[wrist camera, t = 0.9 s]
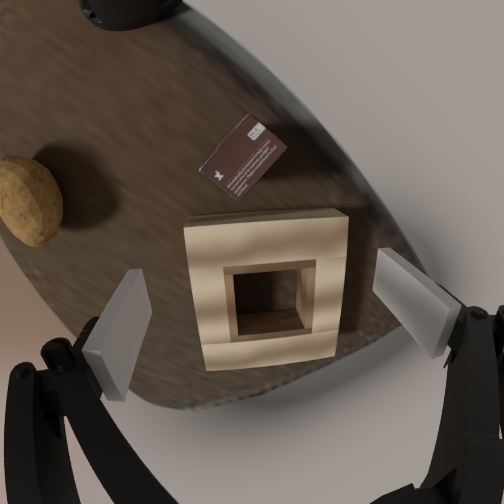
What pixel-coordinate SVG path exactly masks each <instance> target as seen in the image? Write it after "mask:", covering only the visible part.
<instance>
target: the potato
mask: <svg viewBox="0 0 504 504" xmlns="http://www.w3.org/2000/svg"><path fill="white" fill-rule="evenodd" d="M0 216H1V218H2V219H3V221H4V223H5V224H6V226H7V227H8V228H9V229H10V231H11V232H12V233H13V234H14V235H15V236H16V237H17V238H19V239H20V240H21V241H23V242H24V243H25V244H27V245H28V246H31V247H35V246H42V245H44V244H46V243H48V242H49V241H50V240H51V239H52V238H53V237H54V236H55V235H56V234H57V232H58V229H59V226H60V223H61V220H62V216H63V199H62V196H61V192H60V188H59V187H58V185H57V183H56V181H55V179H54V177H53V176H52V174H51V173H50V171H49V170H48V169H47V168H46V167H44V166H43V165H41V164H40V163H38V162H37V161H36V160H32V159H28V158H24V157H20V156H5V157H3V158H1V159H0Z"/></svg>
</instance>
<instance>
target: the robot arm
mask: <svg viewBox="0 0 504 504" xmlns="http://www.w3.org/2000/svg"><path fill="white" fill-rule="evenodd" d="M181 1H182V0H79V3H80V8H81V11H82V13H83V14H84V16H85V17H86V18H87V19H88V20H89V21H90V22H91V23H92V24H94V25H95V26H97V27H98V28H101V29H104V30H109V31H124V30H130V29H134V28H138V27H141V26H144V25H147V24H149V23H151V22H154V21H156V20H157V19H159V18H161V17H163V16H164V15H166V14H167V13H169V12H170V11H171V10H173V9H174V8H175V7H176V6H177V5H178V4H179V3H180V2H181ZM373 292H374V293H375V294H376V295H377V296H378V297H379V298H380V299H381V301H382V302H383V303H384V304H385V305H386V306H387V307H388V308H389V310H390V311H391V312H392V313H393V314H394V315H395V316H396V318H397V319H398V320H399V321H400V322H401V323H402V325H403V326H404V327H405V328H406V329H407V330H408V332H409V333H410V334H411V335H412V336H413V338H414V339H415V340H416V341H417V343H418V344H419V345H420V346H421V347H422V349H423V350H424V351H425V352H426V353H427V355H428V356H429V357H430V358H431V359H434V358H436V357H439V356H442V355H443V354H444V351H445V349H446V347H447V345H448V346H449V347H450V348H451V351H450V353H449V356H448V358H447V360H446V362H445V364H444V367H443V368H445V367H446V365H448V370H447V381H446V389H445V396H444V403H443V409H442V415H441V421H440V426H439V431H438V436H437V440H436V444H435V449H434V453H433V457H432V460H431V464H430V467H429V471H428V474H427V476H426V478H425V479H424V481H423V483H422V484H421V486H420V488H416V489H415V488H414V486H413V484H412V483H411V484H409V485H407V486H405V487H402V488H400V489H398V490H395V491H393V492H390V493H388V494H385V495H383V496H381V497H380V498H378V499H376V500H375V501H373V502H371V503H370V504H501V501H502V496H503V491H504V305H501V306H499V308H498V311H497V314H496V315H489V314H488V313H487V312H486V311H485V310H484V309H482V308H480V307H476V306H471V307H466V306H465V305H464V304H463V303H462V302H461V301H459V300H458V299H457V298H456V297H455V296H452V294H451V293H450V292H448V291H447V290H446V289H445V288H444V287H443V286H441V285H439V284H437V283H435V282H433V281H432V280H431V279H429V278H428V277H427V276H426V275H424V274H423V273H422V272H421V271H419V270H418V269H417V268H416V267H414V266H413V265H412V264H410V263H409V262H408V261H406V260H405V259H404V258H402V257H401V256H400V255H398V254H397V253H396V252H394V251H393V250H392V249H390V248H379V249H378V255H377V263H376V270H375V277H374V284H373ZM151 315H152V309H151V305H150V301H149V297H148V293H147V289H146V285H145V280H144V276H143V271H142V269H131V270H128V272H127V273H126V275H125V277H124V278H123V280H122V281H121V283H120V284H119V286H118V288H117V289H116V291H115V293H114V294H113V296H112V297H111V299H110V301H109V302H108V304H107V306H106V307H105V309H104V311H103V313H102V314H101V316H100V317H93V318H92V319H91V320H90V321H88V322H87V323H86V325H85V326H84V328H83V330H82V331H81V333H80V335H79V337H78V338H77V340H76V342H75V344H74V345H73V347H72V345H71V343H70V341H69V340H68V339H66V338H63V337H61V338H55V339H52V340H50V341H48V342H47V343H46V344H45V345H44V346H43V347H42V349H41V356H42V358H43V360H44V362H45V364H46V365H47V367H48V369H46V370H40V371H37V370H36V368H35V367H34V365H33V364H32V363H30V362H23V363H20V364H18V365H16V366H15V367H14V368H13V370H12V371H11V373H10V378H9V384H8V391H7V400H6V411H5V425H4V468H5V469H4V470H5V484H6V493H7V502H8V504H81V502H80V499H79V495H78V492H77V488H76V484H75V480H74V475H73V471H72V466H71V461H70V456H69V451H68V445H67V439H66V432H65V424H64V416H67V418H68V420H69V423H70V425H71V427H72V430H73V431H74V434H75V436H76V438H77V440H78V442H79V444H80V446H81V448H82V450H83V452H84V454H85V456H86V458H87V460H88V462H89V463H90V465H91V467H92V469H93V470H94V472H95V474H96V476H97V477H98V479H99V481H100V482H101V484H102V486H103V487H104V489H105V490H106V492H107V493H108V495H109V496H110V498H111V499H112V501H113V502H114V504H179V503H178V502H177V501H176V500H175V499H174V498H173V497H172V496H171V495H170V494H169V493H168V491H167V490H166V489H165V488H164V487H163V486H162V485H161V484H160V482H159V481H158V480H157V479H156V478H155V476H154V475H153V474H152V473H151V472H150V470H149V469H148V468H147V467H146V466H145V464H144V463H143V462H142V460H141V459H140V458H139V456H138V455H137V454H136V452H135V451H134V450H133V448H132V447H131V446H130V444H129V443H128V441H127V440H126V439H125V437H124V436H123V434H122V433H121V432H120V430H119V428H118V427H117V425H116V424H115V422H114V421H113V419H112V418H111V416H110V414H109V413H108V411H107V410H106V408H105V406H104V405H103V403H102V401H101V400H100V398H101V395H102V392H103V393H104V395H105V396H106V398H107V400H109V401H119V402H125V398H126V394H127V391H128V387H129V384H130V380H131V377H132V374H133V370H134V367H135V364H136V360H137V357H138V354H139V351H140V348H141V345H142V341H143V338H144V335H145V332H146V329H147V326H148V323H149V320H150V318H151ZM499 425H500V428H501V433H502V439H500V438H499Z"/></svg>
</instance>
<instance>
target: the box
mask: <svg viewBox="0 0 504 504" xmlns="http://www.w3.org/2000/svg"><path fill="white" fill-rule="evenodd" d="M286 149H287V146H286V145H284V144H283V143H282V142H281V141H280V140H279V139H278V138H277V137H276V136H275V135H274V134H273V133H272V132H271V131H270V130H268V129H267V128H266V127H265V126H264V125H263V124H262V123H261V122H260V121H259V120H258V119H257V118H256V117H254V116H253V115H252V114H247V115H246V116H245V117H244V118H243V119H242V120H241V121H240V122H239V123H238V124H237V125H236V126H235V127H234V128H233V129H232V130H231V131H230V132H229V133H228V134H227V135H226V137H225V138H224V139H223V140H222V141H221V142H220V143H219V144H218V146H217V147H216V148H215V149H214V150H213V151H212V153H211V154H210V155H209V156H208V158H207V159H206V160H205V162H204V163H203V164H202V166H201V167H200V169H199V171H200V172H201V173H202V174H204V175H205V176H206V177H208V178H209V179H210V180H211V181H213V182H214V183H215V184H216V185H218V186H219V187H220V188H222V189H223V190H224V191H225V192H227V193H228V194H229V195H230V196H232V197H233V198H234V199H235V200H237V201H238V202H240V201H241V199H242V198H243V197H244V196H245V195H246V194H247V193H248V192H249V191H250V190H251V189H252V187H253V186H254V185H255V184H256V183H257V182H258V181H259V180H260V178H261V177H262V176H263V175H264V174H265V173H266V171H267V170H268V169H269V168H270V167H271V166H272V165H273V164H274V163H275V162H276V160H277V159H278V158H279V157H280V156H281V155H282V153H283V152H284V151H285V150H286Z"/></svg>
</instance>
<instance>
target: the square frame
mask: <svg viewBox="0 0 504 504" xmlns="http://www.w3.org/2000/svg"><path fill="white" fill-rule="evenodd" d="M348 221H349V217H348V216H347V215H345V214H343V213H341V212H340V211H338V210H336V209H335V208H309V209H289V210H271V211H255V212H241V213H227V214H214V215H202V216H191V217H189V218H188V220H187V222H186V224H185V226H184V235H185V243H186V251H187V259H188V266H189V273H190V280H191V286H192V293H193V299H194V305H195V311H196V317H197V323H198V329H199V334H200V340H201V345H202V350H203V355H204V360H205V365H206V370H207V371H215V370H229V369H242V368H252V367H262V366H271V365H279V364H287V363H294V362H301V361H307V360H314V359H320V358H325V357H331V356H335V349H336V343H337V336H338V329H339V322H340V314H341V306H342V297H343V288H344V278H345V267H346V254H347V240H348ZM291 269H297V291H296V309H288V310H279V311H270V312H260V313H249V314H238V315H236V307H235V295H234V283H233V274H245V273H257V272H269V271H280V270H291Z"/></svg>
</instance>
